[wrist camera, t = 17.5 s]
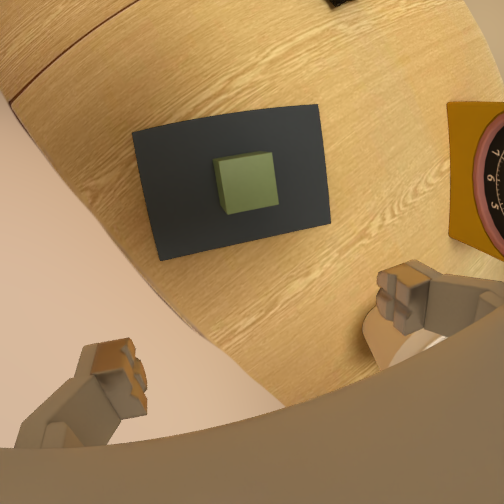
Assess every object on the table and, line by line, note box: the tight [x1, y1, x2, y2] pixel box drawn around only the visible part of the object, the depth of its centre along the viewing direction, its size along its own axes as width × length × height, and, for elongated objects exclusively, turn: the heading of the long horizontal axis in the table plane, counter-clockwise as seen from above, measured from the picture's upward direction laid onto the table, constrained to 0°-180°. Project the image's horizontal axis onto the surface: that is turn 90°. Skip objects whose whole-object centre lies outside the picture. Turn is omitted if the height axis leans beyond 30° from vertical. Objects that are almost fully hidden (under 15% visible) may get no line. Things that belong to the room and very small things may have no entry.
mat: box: [132, 104, 331, 261], centre depth 33 cm, size 20×14×1 cm
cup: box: [362, 306, 448, 371], centre depth 39 cm, size 12×12×14 cm
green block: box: [213, 151, 279, 215], centre depth 31 cm, size 5×5×4 cm
